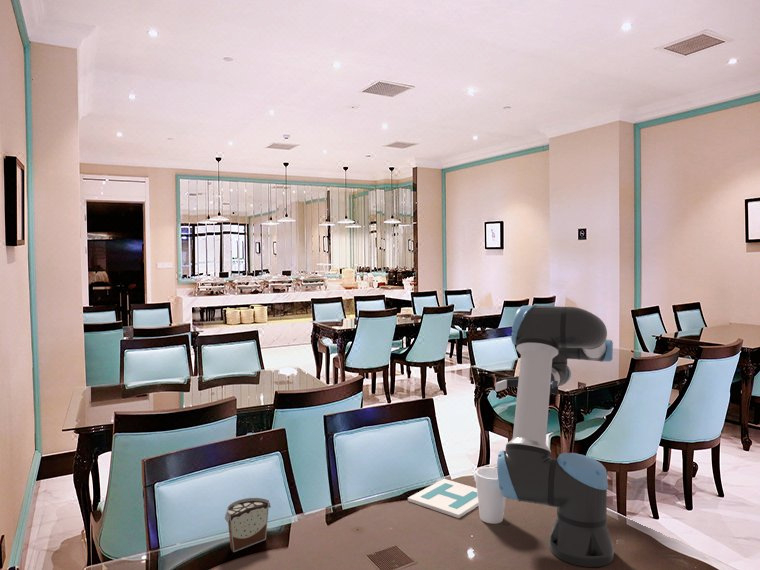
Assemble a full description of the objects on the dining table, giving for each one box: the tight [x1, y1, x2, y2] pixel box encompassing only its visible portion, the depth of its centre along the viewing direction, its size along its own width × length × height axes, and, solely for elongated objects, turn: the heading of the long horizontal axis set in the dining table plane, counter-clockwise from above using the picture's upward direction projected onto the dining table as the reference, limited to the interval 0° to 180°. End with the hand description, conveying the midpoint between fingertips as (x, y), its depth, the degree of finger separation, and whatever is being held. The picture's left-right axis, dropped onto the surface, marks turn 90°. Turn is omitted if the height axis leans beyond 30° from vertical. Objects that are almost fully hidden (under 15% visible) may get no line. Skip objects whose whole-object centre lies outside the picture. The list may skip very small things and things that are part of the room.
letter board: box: [407, 478, 479, 519], centre depth 171 cm, size 18×20×1 cm
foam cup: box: [474, 466, 507, 524], centre depth 157 cm, size 10×9×13 cm
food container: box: [224, 497, 272, 553], centre depth 143 cm, size 12×6×10 cm, turn 134°
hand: (516, 390), depth 172 cm, fingers open, 13 cm apart
